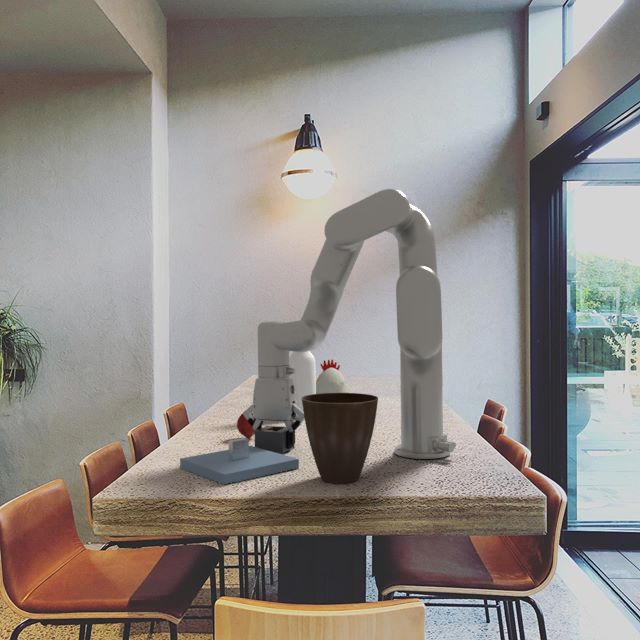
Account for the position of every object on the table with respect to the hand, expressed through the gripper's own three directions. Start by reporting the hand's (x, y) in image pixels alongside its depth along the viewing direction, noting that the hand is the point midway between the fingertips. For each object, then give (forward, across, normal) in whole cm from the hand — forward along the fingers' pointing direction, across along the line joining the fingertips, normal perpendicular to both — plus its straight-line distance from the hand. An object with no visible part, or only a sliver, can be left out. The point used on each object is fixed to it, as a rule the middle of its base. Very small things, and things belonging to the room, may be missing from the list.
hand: (274, 446), depth 145 cm
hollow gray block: (+1, 0, 0) cm, 1 cm away
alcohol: (+1, +11, -47) cm, 48 cm away
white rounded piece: (+1, +16, -92) cm, 93 cm away
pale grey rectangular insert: (-1, 0, +18) cm, 18 cm away
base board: (+1, 0, +18) cm, 18 cm away
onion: (+1, +12, -11) cm, 16 cm away
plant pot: (+1, -23, +20) cm, 31 cm away
